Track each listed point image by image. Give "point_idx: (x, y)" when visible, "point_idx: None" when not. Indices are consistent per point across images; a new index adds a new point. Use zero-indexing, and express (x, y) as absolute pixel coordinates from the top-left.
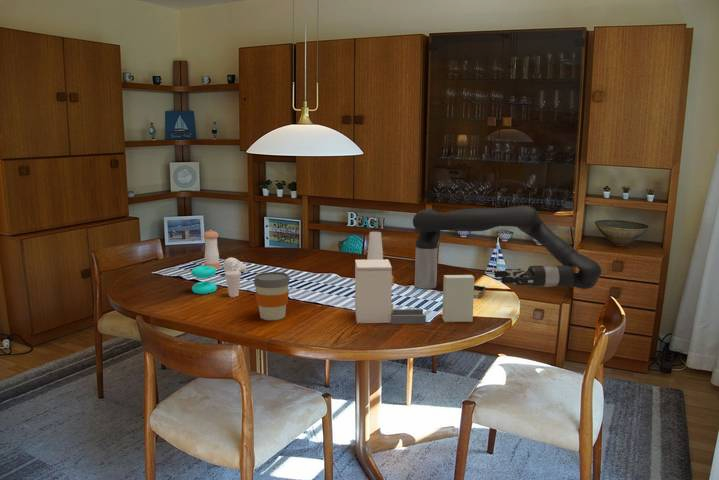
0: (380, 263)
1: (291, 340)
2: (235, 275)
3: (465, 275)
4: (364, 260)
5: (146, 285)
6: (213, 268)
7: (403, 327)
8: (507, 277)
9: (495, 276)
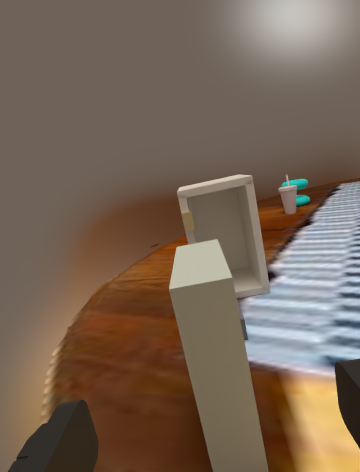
0: (210, 183)
1: (144, 261)
2: (281, 190)
3: (215, 266)
4: (234, 176)
5: (298, 194)
6: (296, 181)
7: (171, 321)
8: (30, 457)
9: (342, 412)
